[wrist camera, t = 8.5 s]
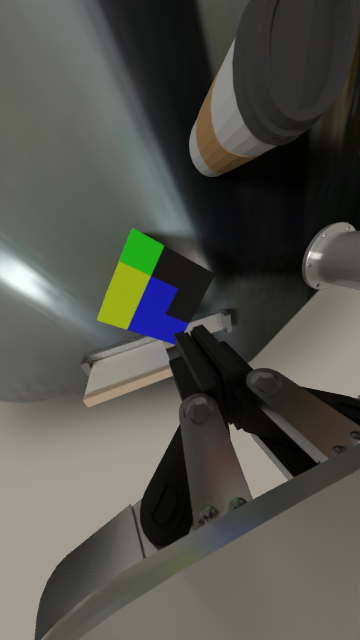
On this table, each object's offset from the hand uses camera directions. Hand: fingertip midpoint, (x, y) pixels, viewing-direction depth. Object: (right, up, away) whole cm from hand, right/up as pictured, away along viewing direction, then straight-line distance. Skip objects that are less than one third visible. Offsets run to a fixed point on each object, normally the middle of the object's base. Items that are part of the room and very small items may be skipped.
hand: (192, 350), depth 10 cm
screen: (-9, -4, +21) cm, 24 cm away
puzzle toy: (-6, +8, +19) cm, 22 cm away
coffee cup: (+3, +25, +14) cm, 29 cm away
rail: (-4, -2, +23) cm, 24 cm away
